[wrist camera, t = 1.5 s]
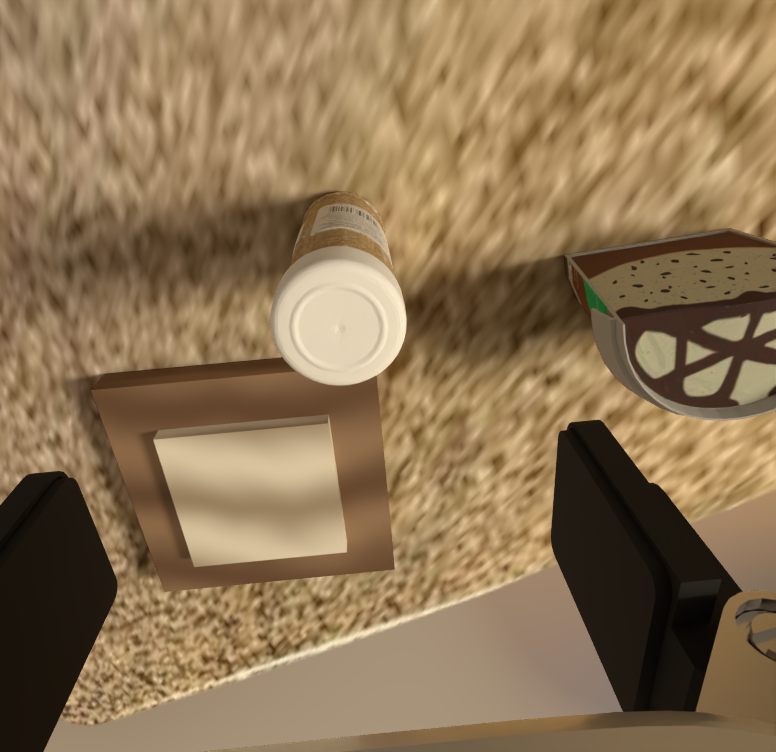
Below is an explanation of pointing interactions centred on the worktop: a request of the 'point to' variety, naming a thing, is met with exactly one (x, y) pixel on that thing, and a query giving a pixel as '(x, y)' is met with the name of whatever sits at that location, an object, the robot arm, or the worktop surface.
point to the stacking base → (250, 472)
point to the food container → (686, 320)
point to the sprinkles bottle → (339, 295)
